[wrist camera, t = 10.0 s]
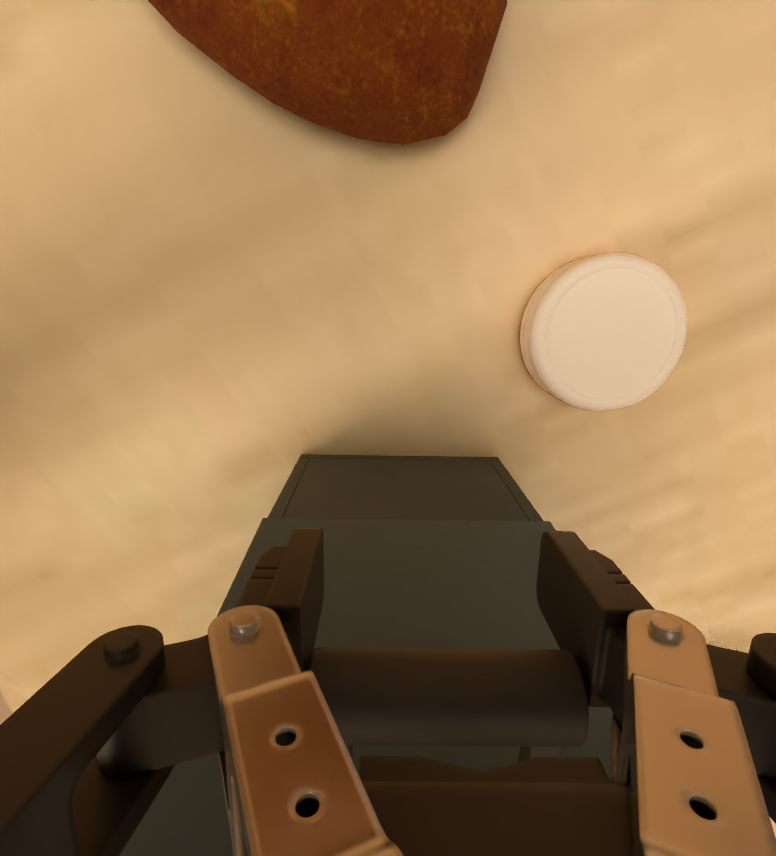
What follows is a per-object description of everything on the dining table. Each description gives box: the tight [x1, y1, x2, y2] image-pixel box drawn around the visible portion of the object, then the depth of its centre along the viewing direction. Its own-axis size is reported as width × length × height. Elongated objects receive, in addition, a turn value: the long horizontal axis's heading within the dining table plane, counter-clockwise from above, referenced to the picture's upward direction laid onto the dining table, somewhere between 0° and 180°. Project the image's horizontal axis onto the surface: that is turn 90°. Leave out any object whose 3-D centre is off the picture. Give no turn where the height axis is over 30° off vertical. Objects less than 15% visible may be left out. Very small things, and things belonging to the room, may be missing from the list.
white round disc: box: [520, 252, 688, 411], centre depth 33 cm, size 10×10×4 cm
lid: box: [119, 518, 613, 856], centre depth 17 cm, size 16×15×6 cm
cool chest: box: [268, 455, 543, 521], centre depth 33 cm, size 16×15×11 cm
